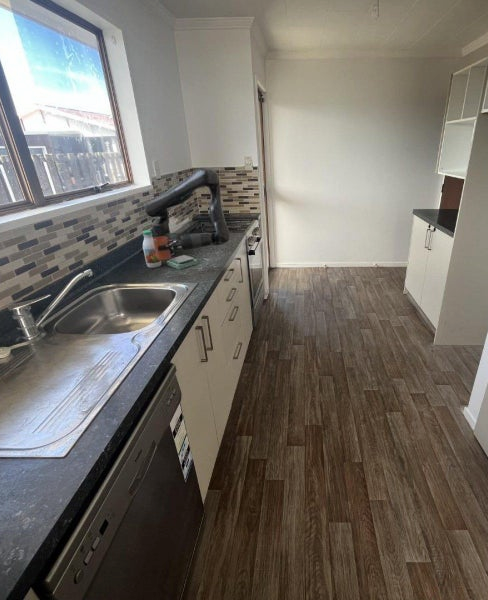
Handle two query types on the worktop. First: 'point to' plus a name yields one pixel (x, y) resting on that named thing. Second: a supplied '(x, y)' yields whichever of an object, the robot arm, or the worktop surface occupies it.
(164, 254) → the cup
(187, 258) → the scale platform
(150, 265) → the milk bottle
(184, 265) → the scale
